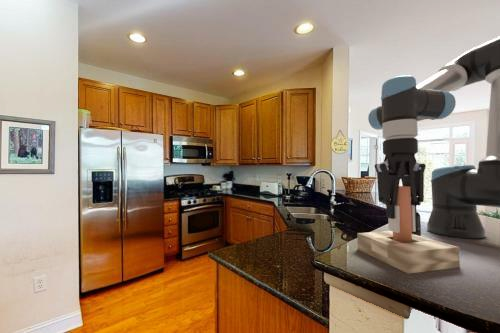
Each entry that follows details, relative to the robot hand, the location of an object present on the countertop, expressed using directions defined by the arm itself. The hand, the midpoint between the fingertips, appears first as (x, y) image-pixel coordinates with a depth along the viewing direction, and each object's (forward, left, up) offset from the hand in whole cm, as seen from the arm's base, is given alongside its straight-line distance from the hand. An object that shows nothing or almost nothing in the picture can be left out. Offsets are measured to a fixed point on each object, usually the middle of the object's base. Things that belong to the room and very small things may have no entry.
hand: (401, 230), depth 58 cm
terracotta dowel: (0, 0, -3) cm, 3 cm away
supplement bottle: (-13, -11, -7) cm, 18 cm away
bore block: (0, 0, -7) cm, 7 cm away
